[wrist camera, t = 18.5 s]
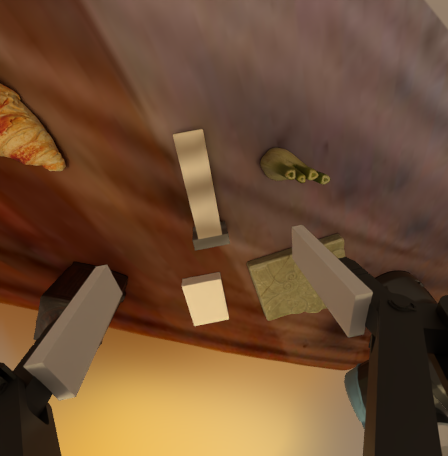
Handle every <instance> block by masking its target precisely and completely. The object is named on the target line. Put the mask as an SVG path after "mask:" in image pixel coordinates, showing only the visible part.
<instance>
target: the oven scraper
mask: <svg viewBox="0 0 448 456" xmlns="http://www.w3.org/2000/svg"><path fill="white" fill-rule="evenodd" d="M173 139H174V143H175V147H176V151H177V155H178V159H179V163H180V167H181V171H182V175H183V179H184V183H185V187H186V191H187V195H188V199H189V203H190V207H191V211H192V215H193V219H194V223H195V227H193V244H194V248H195V250H200V249H205V248H211V247H216V246H221V245H226V244H230V241H229V235H228V231H227V228H226V224H225V221H224V222H220V220H219V214H218V209H217V204H216V198H215V193H214V187H213V182H212V177H211V171H210V166H209V160H208V155H207V150H206V144H205V139H204V133H203V129H198V130H192V131H187V132H181V133H176V134H173Z"/></svg>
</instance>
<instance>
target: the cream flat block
mask: <svg viewBox="0 0 448 456" xmlns="http://www.w3.org/2000/svg"><path fill="white" fill-rule="evenodd" d="M182 289H183V292H184V295H185V298H186V301H187V304H188V307H189V310H190V314H191V317H192V320H193V323H194V326H198V325H203V324H208V323H213V322H218V321H223V320H228V319H229V315H228V310H227V305H226V300H225V295H224V290H223V285H222V280H221V275H220V272H217V273H212V274H206V275H201V276H196V277H191V278H186V279H183V280H182Z"/></svg>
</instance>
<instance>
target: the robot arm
mask: <svg viewBox="0 0 448 456" xmlns="http://www.w3.org/2000/svg"><path fill="white" fill-rule="evenodd" d="M292 259H293V260H294V262H295V263H296V264H297V266H298V267H299V269H300V270H301V271H302V273H303V274H304V276H305V277H306V278H307V280H308V281H309V283H310V284H311V286H312V287H313V288H314V290H315V291H316V293H317V294H318V295H319V297H320V298H321V300H322V301H323V303H324V304H325V305H326V307H327V308H328V310H329V311H330V312H331V314H332V315H333V317H334V318H335V319H336V321H337V322H338V324H339V325H340V327H341V328H342V329H343V331H344V332H345V334H346V335H347V336H348V338H349V337H354V336H358V335H363V334H364V331H365V326H366V327H367V328H368V329H369V331H370V332H371V333H372V335H371V339H370V343H369V348H370V357H369V360H367V361H365V362H363V363H359V364H357V366H356V367H355V368H353V369H352V370H350V371H349V372H348V373H346V375H345V381H344V383H345V388H346V391H347V394H348V398H349V400H350V402H351V405H352V407H353V409H354V411H355V413H356V415H357V417H358V419H359V421H361V422H362V425H363V427H364V429H365V432H364V447H363V456H448V295H446V296H443V297H441V299H440V301H439V303H437V302H436V301H435V300H434V299H433V297H432V296H431V295H430V293H429V292H428V291H427V290H426V289H425V288H424V286H423V284H422V283H421V282H420V281H419V280H418V279H417V278H415V277H414V276H413V275H411V274H410V273H408V272H404V271H394V272H389V273H386V274H383V275H381V276H379V277H377V278H376V279H375V278H374V277H373V276H371V275H370V274H368V272H367V271H366V270H364V269H362V267H361V266H360V265H359V264H358V263H356V262H355V261H353V260H351V259H349V258H347V257H343V258H337V257H336V256H335V255H333V254H332V253H331V252H330V251H329V250H328V249H327V248H326V247H325V246H324V245H323V244H322V243H321V242H320V241H319V240H318V239H317V238H316V237H315V236H314V235H312V234H311V233H310V232H309V231H308V230H307V229H306V228H305V227H304V226H303V225H299V226H294V227H292ZM121 296H122V292H121V290H120V288H119V286H118V284H117V282H116V280H115V278H114V277H113V275H112V273H111V271H110V269H109V267H108V265H102V266H97V267H96V268H95V269H94V270H93V272H92V273H91V274H90V276H89V277H88V278H87V280H86V281H85V283H84V284H83V285H82V287H81V288H80V289H79V291H78V292H77V294H76V295H75V296H74V298H73V299H72V300H71V302H70V303H69V305H68V306H67V307H66V309H65V310H64V311H63V313H62V314H61V315H60V317H58V318H56V319H55V320H54V321H52V322H51V323H50V324H49V325H48V326H47V327H46V328H45V330H44V331H43V332H42V334H41V335H40V337H39V338H38V339H37V340H36V342H35V343H34V345H33V346H32V347H31V348H30V349H29V351H28V352H27V354H26V355H25V356H24V357H23V359H22V360H21V362H20V363H19V364H18V365H17V367H16V368H15V369H14V371H11V370H10V369H9V368H8V367H7V366H6V365H5V364H4V363H0V456H61V452H60V447H59V442H58V438H57V432H56V427H55V423H54V418H53V413H52V408H51V406H50V404H49V403H48V401H49V399H50V397H51V395H52V394H53V395H54V396H55V397H56V398H57V399H58V400H63V399H68V398H73V397H76V395H77V393H78V391H79V388H80V386H81V384H82V382H83V380H84V378H85V375H86V373H87V371H88V369H89V366H90V364H91V362H92V360H93V358H94V355H95V353H96V351H97V349H98V347H99V345H100V342H101V340H102V338H103V336H104V334H105V331H106V329H107V327H108V325H109V323H110V320H111V318H112V316H113V314H114V312H115V309H116V307H117V305H118V303H119V301H120V298H121ZM436 398H437V399H438V400H439V401H438V400H437V399H436ZM443 406H444V407H445V408H444V407H443Z"/></svg>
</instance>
